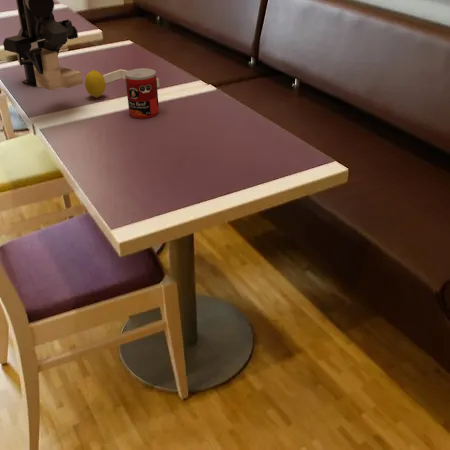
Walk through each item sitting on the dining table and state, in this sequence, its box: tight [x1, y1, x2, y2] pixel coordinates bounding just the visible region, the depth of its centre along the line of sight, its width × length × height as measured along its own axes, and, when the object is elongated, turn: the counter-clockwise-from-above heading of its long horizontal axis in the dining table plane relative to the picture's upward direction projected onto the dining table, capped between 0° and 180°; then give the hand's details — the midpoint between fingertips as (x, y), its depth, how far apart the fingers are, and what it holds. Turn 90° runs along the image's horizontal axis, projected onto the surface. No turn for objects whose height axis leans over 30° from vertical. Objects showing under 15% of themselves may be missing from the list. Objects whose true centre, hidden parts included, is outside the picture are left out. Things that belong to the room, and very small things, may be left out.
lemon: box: [84, 69, 106, 99], centre depth 171 cm, size 6×6×8 cm
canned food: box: [125, 67, 160, 120], centre depth 159 cm, size 8×8×11 cm
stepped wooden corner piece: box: [33, 48, 84, 91], centre depth 158 cm, size 10×8×9 cm
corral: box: [102, 68, 160, 89], centre depth 180 cm, size 16×12×2 cm
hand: (47, 72), depth 157 cm, fingers closed on stepped wooden corner piece, 3 cm apart
